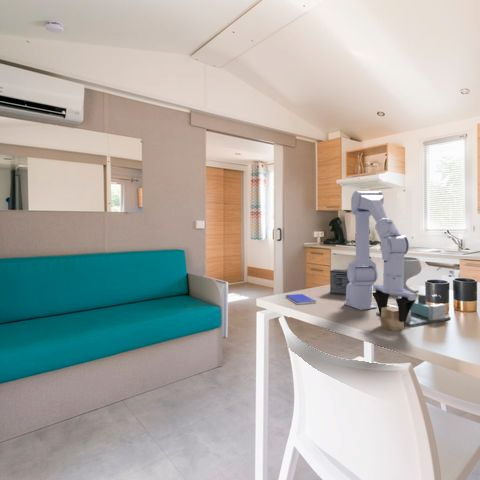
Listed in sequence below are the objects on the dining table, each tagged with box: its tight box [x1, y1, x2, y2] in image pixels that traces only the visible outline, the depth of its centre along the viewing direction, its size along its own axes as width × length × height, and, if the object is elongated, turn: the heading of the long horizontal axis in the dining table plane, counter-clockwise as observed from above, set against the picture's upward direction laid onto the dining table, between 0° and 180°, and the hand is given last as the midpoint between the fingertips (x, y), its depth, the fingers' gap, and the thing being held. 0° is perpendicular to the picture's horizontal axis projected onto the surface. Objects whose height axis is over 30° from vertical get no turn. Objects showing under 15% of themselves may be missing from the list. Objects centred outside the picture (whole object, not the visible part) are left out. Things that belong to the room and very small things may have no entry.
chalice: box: [403, 256, 422, 293], centre depth 152 cm, size 14×14×15 cm
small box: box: [329, 268, 350, 296], centre depth 147 cm, size 11×6×10 cm, turn 58°
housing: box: [380, 305, 405, 331], centre depth 102 cm, size 4×4×6 cm
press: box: [376, 296, 452, 328], centre depth 112 cm, size 14×18×5 cm
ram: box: [410, 294, 429, 317], centre depth 114 cm, size 10×4×6 cm, turn 22°
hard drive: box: [285, 293, 317, 306], centre depth 136 cm, size 2×8×12 cm
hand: (392, 317), depth 102 cm, fingers open, 7 cm apart
